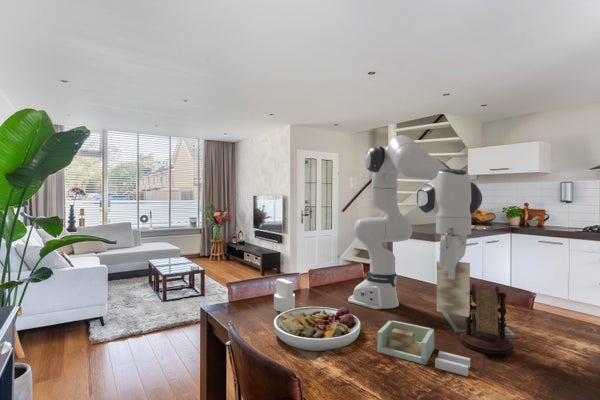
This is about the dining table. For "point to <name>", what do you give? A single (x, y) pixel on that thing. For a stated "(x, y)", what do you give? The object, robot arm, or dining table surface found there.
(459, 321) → the framed board
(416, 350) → the offcut long
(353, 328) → the bowl
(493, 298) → the scroll
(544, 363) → the dining table surface
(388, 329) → the box
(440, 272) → the beige streaked board
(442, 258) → the robot arm
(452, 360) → the holder
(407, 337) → the offcut short
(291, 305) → the base with upright slab
